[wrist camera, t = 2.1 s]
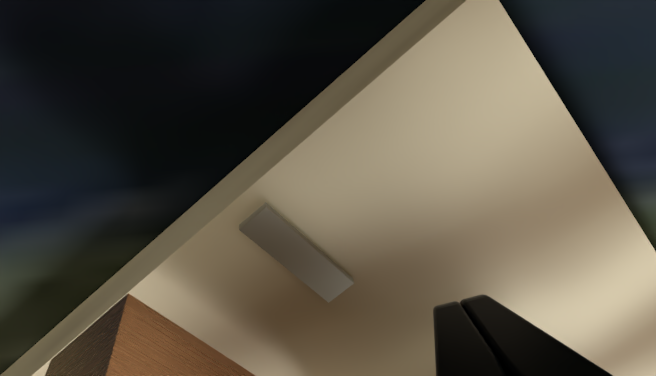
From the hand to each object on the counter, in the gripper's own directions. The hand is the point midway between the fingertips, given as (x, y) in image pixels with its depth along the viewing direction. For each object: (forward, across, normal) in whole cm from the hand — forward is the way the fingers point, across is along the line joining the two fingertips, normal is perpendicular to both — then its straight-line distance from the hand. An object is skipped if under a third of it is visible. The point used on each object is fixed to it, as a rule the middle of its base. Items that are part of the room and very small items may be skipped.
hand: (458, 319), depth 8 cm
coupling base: (+6, 0, +10) cm, 11 cm away
